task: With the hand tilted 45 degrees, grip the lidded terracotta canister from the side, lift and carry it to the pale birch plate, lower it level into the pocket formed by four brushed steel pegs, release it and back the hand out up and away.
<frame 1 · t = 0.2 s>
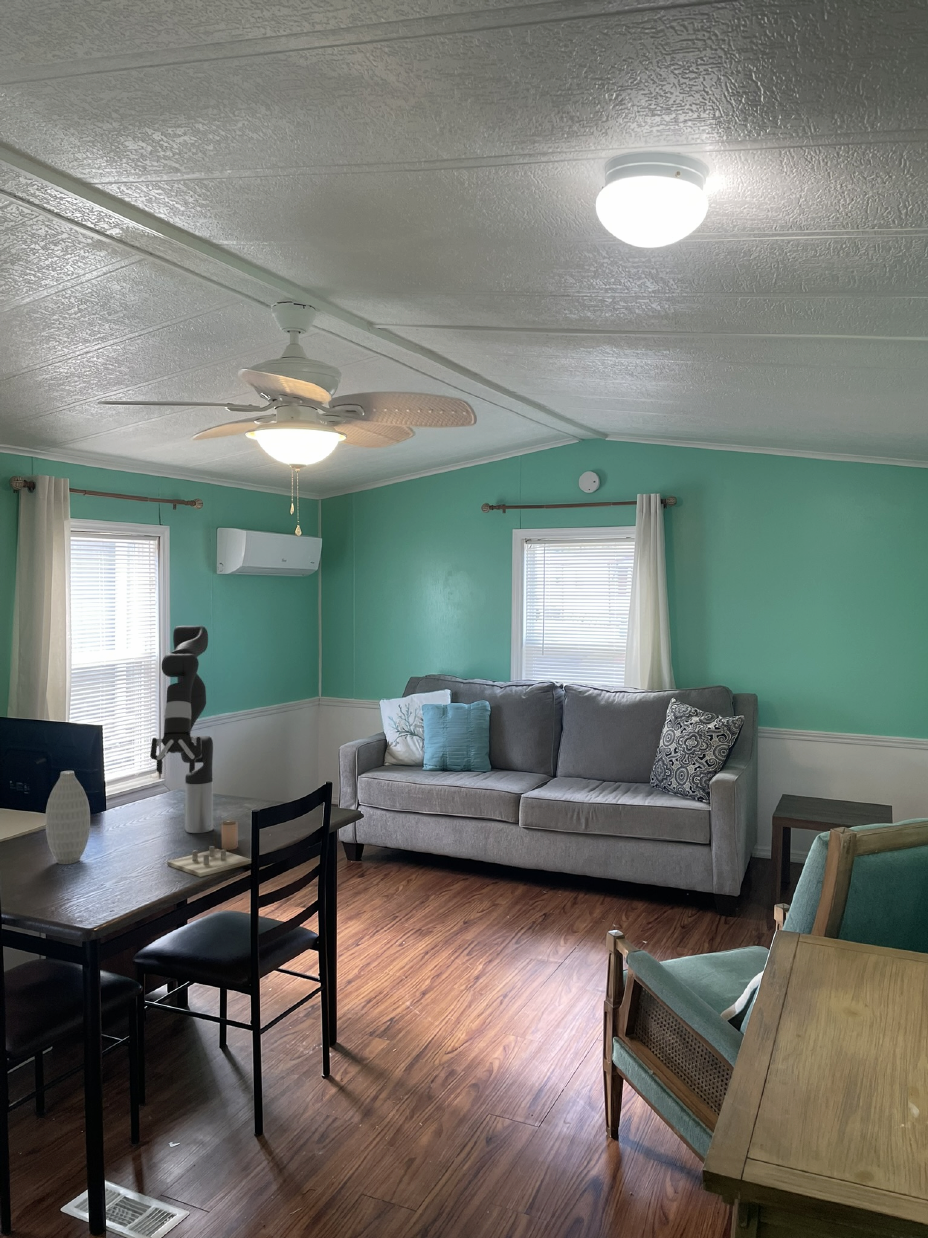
hand: (175, 773, 264), 31 cm above the table, tool tilted 20°, fingers open, 8 cm apart
canister: (229, 847, 298), on the table
peg plate: (209, 864, 280), on the table
vase: (68, 862, 283), on the table
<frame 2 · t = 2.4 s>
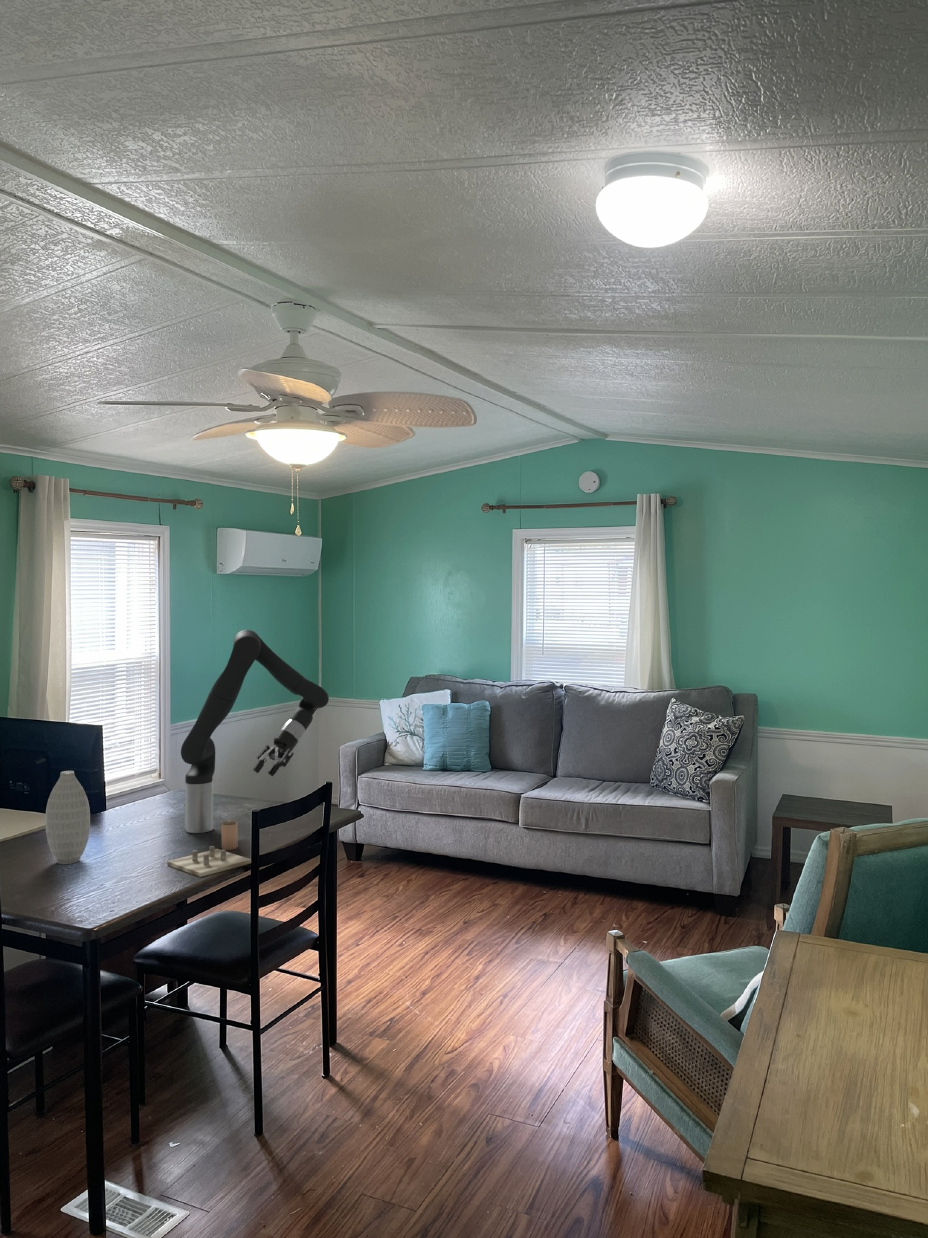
hand: (262, 773, 308), 23 cm above the table, tool tilted 45°, fingers open, 8 cm apart
nothing on the table moved.
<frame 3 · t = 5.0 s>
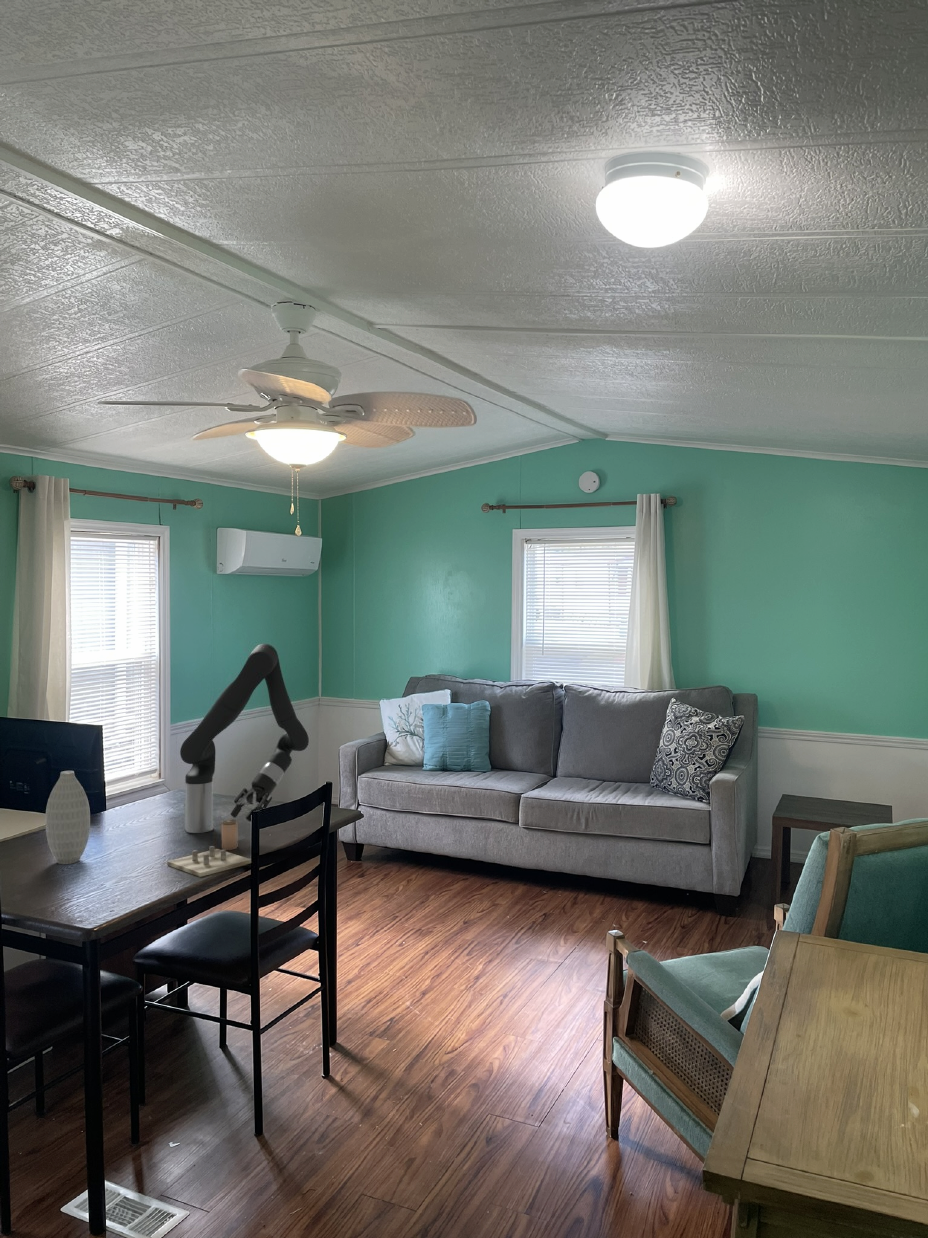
hand: (240, 818, 301), 9 cm above the table, tool tilted 45°, fingers open, 8 cm apart
nothing on the table moved.
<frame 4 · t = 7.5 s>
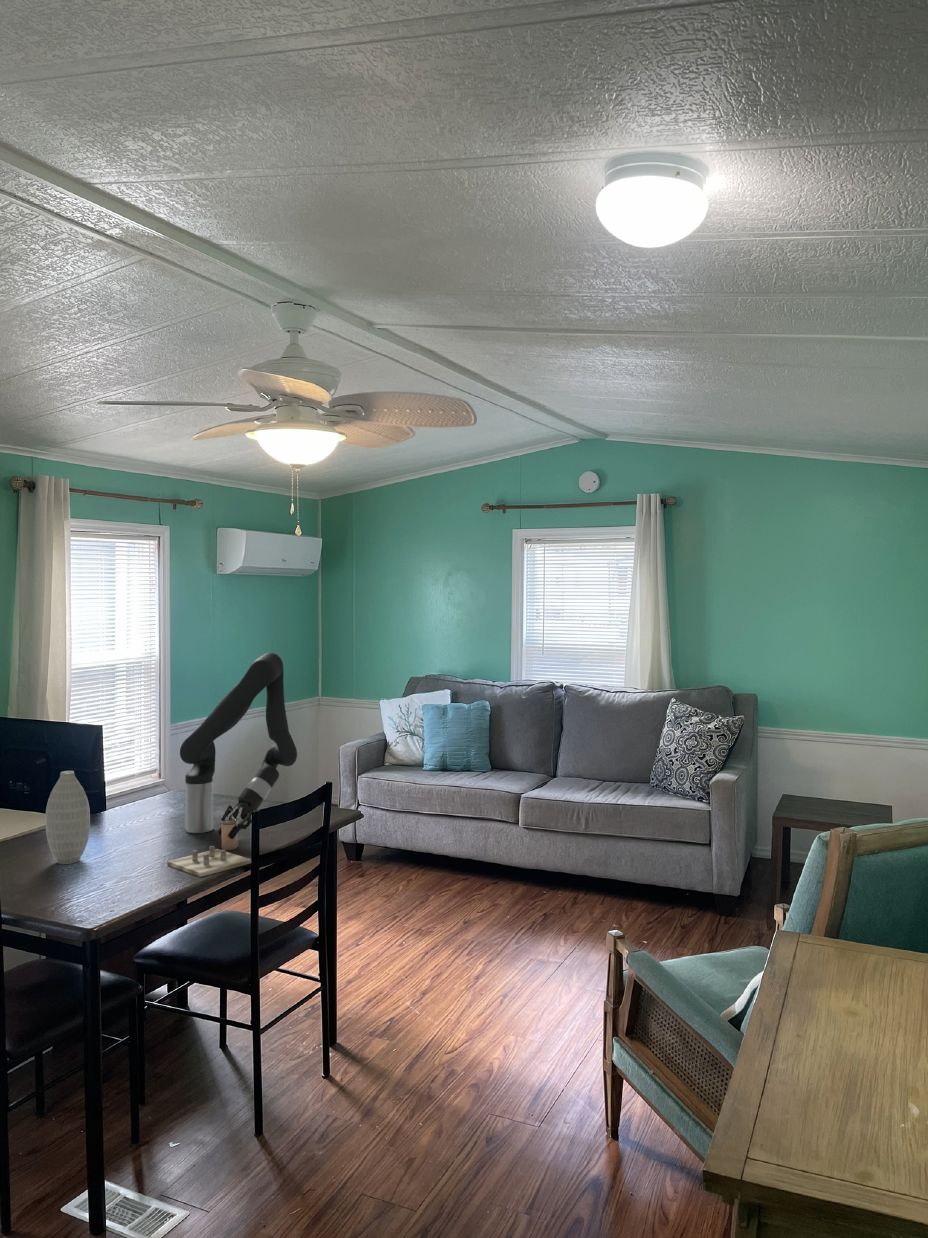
hand: (224, 836, 297), 4 cm above the table, tool tilted 45°, fingers closed on canister, 5 cm apart
canister: (229, 847, 298), on the table, touching gripper
everything else where it was.
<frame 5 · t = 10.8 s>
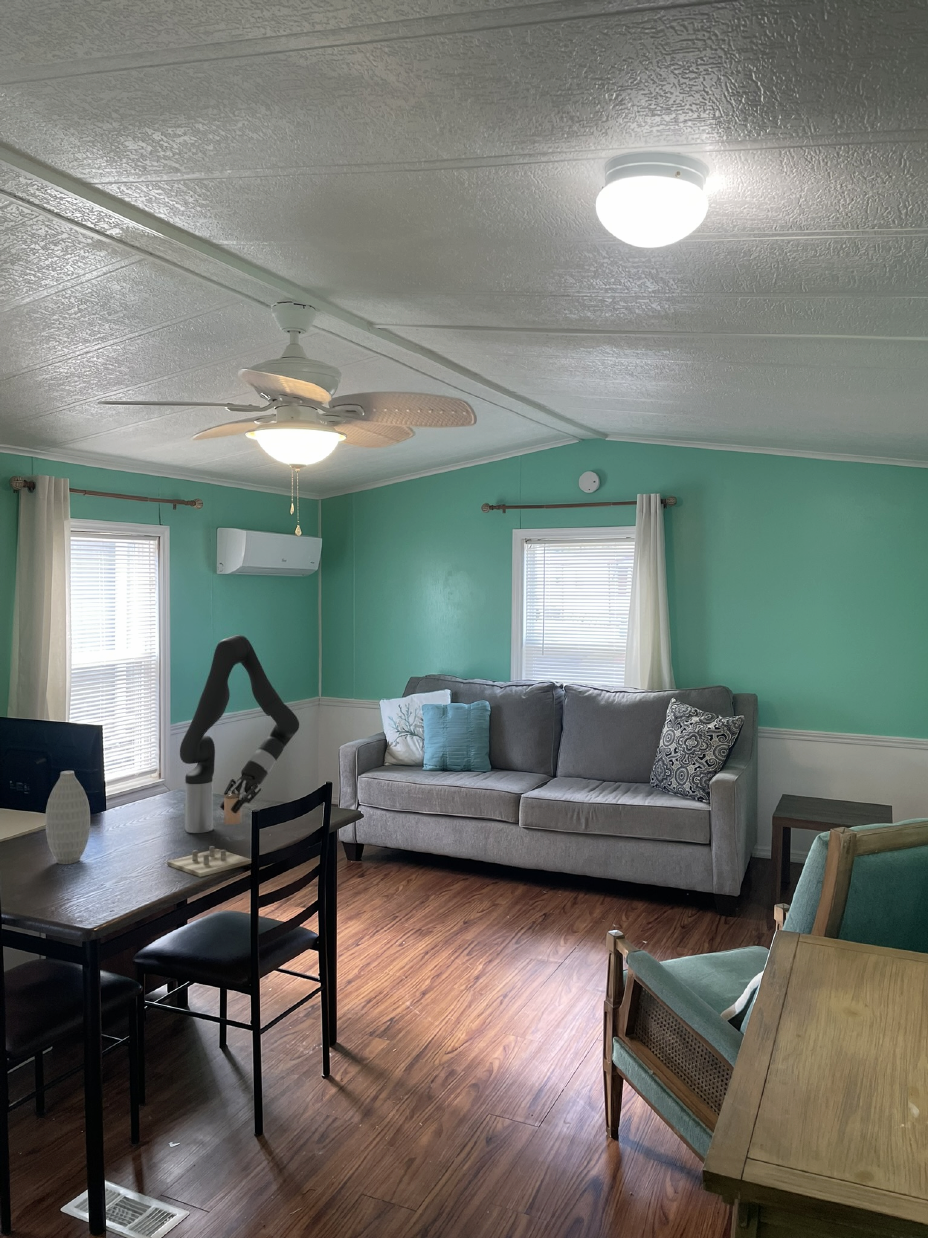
hand: (227, 810, 284), 16 cm above the table, tool tilted 45°, fingers closed on canister, 5 cm apart
canister: (232, 822, 286), point 11 cm above the table, touching gripper
everything else where it was.
when the fingers open (7 cm above the table, at t = 14.1 s): canister drops 1 cm, resting on peg plate.
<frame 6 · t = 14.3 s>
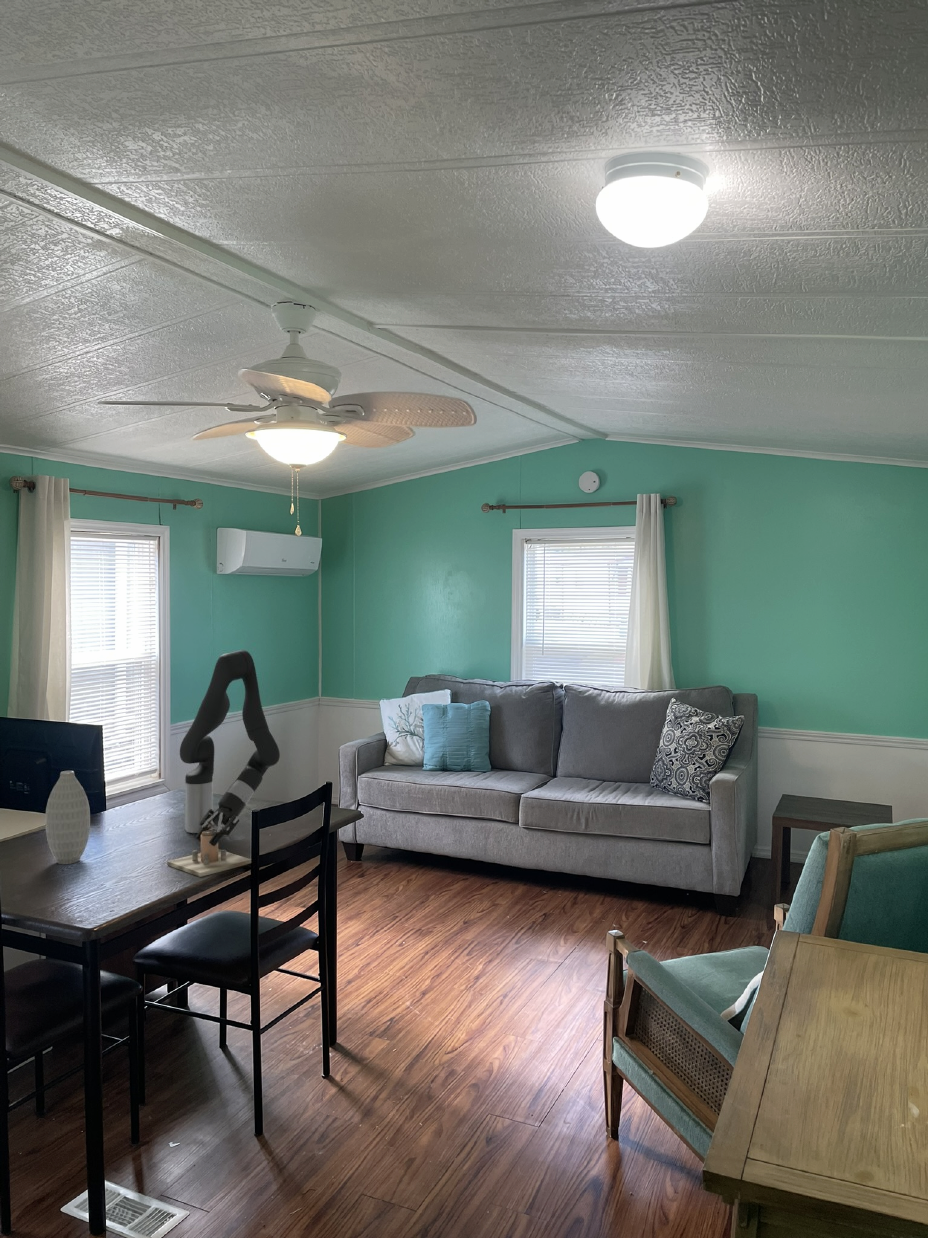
hand: (204, 842, 278), 7 cm above the table, tool tilted 45°, fingers open, 7 cm apart
canister: (209, 860, 280), point 1 cm above the table, touching peg plate
everything else where it was.
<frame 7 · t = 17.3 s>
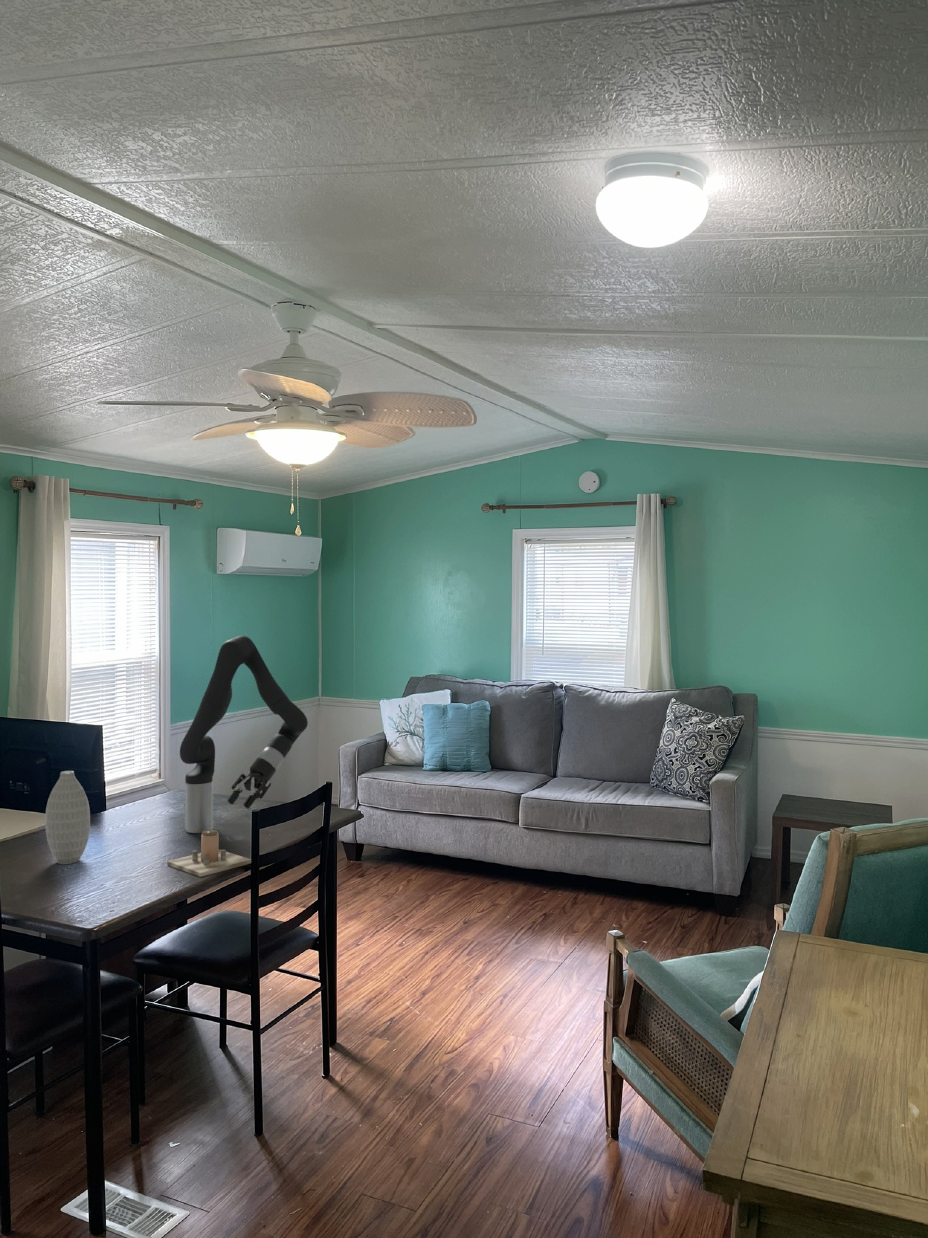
hand: (237, 805, 287), 17 cm above the table, tool tilted 45°, fingers open, 8 cm apart
nothing on the table moved.
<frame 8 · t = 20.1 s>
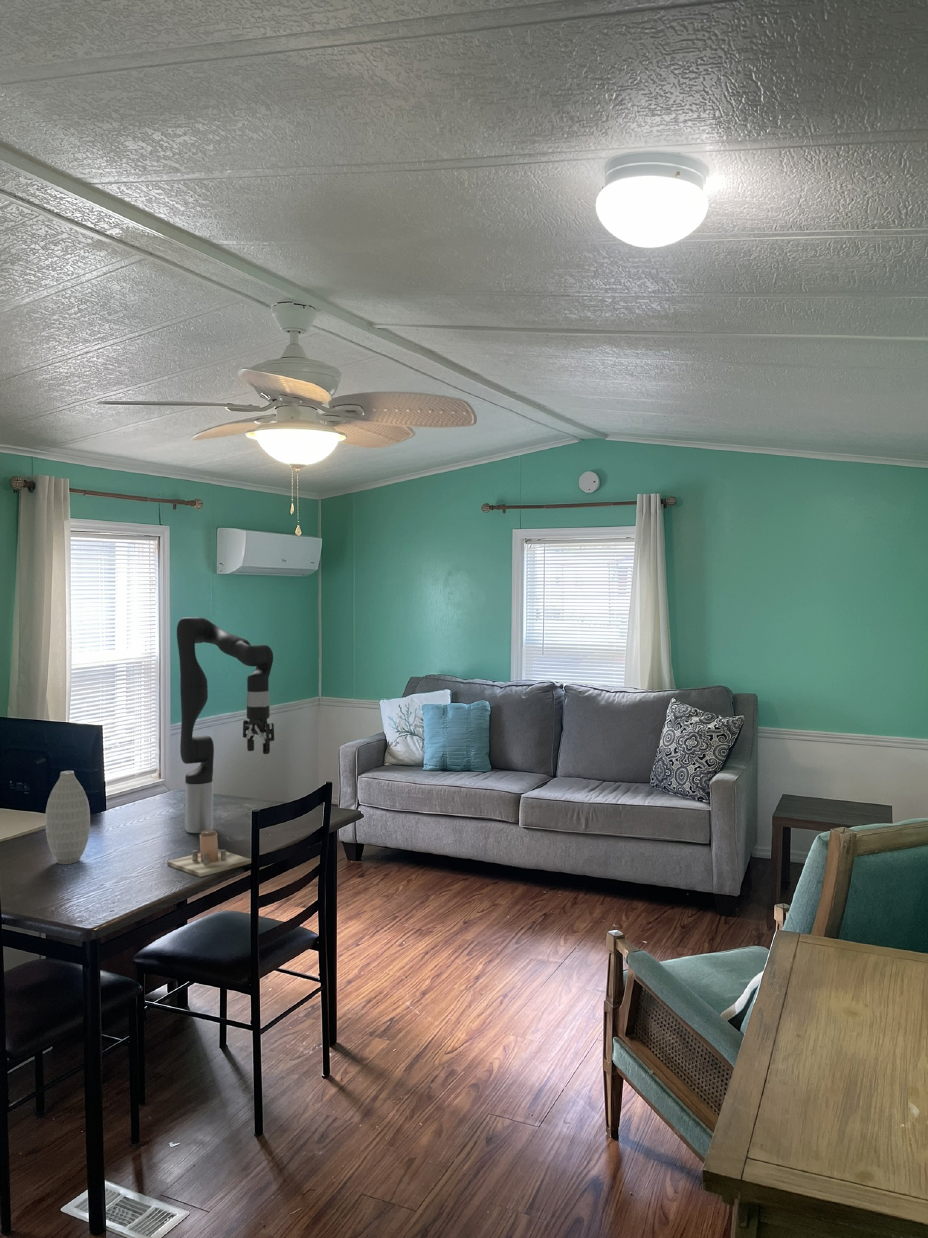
hand: (258, 752, 305), 30 cm above the table, tool pointing down, fingers open, 8 cm apart
nothing on the table moved.
at the end: canister 0.1 cm off-centre on the peg plate, point 1.3 cm above the peg plate's base; canister tilted 2°; the gripper is holding nothing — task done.
